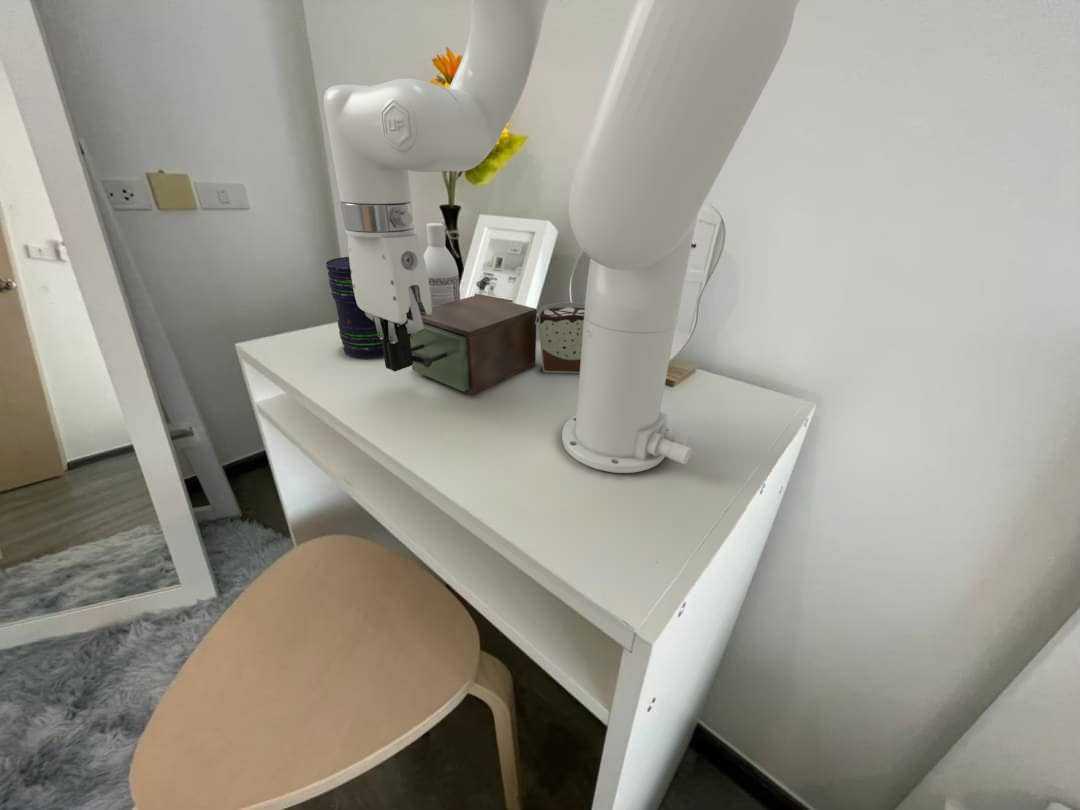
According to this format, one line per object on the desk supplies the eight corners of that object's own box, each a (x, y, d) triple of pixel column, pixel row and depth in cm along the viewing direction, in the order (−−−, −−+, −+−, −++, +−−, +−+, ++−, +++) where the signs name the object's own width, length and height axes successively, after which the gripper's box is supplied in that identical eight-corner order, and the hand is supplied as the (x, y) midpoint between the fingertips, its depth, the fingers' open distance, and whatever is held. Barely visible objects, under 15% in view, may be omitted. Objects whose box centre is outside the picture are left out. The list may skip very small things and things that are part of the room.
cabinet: (473, 395, 63) (469, 332, 58) (416, 371, 69) (409, 312, 65) (535, 364, 73) (536, 308, 68) (481, 346, 80) (479, 294, 75)
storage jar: (330, 355, 74) (310, 265, 67) (363, 336, 83) (349, 254, 75) (384, 362, 72) (369, 270, 65) (412, 341, 81) (401, 258, 74)
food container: (606, 359, 76) (612, 302, 71) (610, 374, 70) (616, 314, 66) (535, 357, 76) (536, 300, 71) (533, 371, 71) (535, 311, 66)
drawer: (440, 402, 59) (435, 348, 55) (389, 378, 65) (381, 328, 61) (524, 363, 71) (524, 316, 68) (474, 346, 77) (472, 302, 74)
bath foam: (469, 336, 84) (463, 225, 75) (436, 343, 80) (425, 227, 71) (451, 326, 89) (443, 220, 79) (419, 333, 85) (407, 222, 75)
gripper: (448, 223, 49) (458, 373, 57) (369, 212, 56) (389, 345, 65) (390, 229, 43) (412, 393, 52) (313, 216, 51) (343, 360, 60)
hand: (399, 366), depth 59 cm, fingers closed
